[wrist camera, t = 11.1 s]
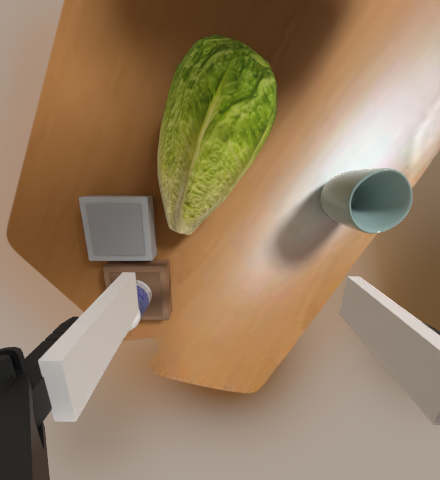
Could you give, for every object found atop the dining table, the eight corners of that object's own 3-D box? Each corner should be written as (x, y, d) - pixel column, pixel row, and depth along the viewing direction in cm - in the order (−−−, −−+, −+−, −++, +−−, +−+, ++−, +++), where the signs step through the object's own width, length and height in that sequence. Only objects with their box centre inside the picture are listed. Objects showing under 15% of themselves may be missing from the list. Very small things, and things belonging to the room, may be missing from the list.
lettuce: (119, 215, 31) (179, 261, 25) (171, 9, 24) (271, 6, 18) (179, 217, 41) (231, 251, 35) (228, 73, 34) (305, 84, 28)
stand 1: (89, 195, 35) (77, 197, 32) (152, 195, 35) (146, 197, 32) (98, 254, 38) (88, 261, 35) (157, 254, 38) (151, 261, 35)
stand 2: (111, 259, 38) (101, 267, 35) (169, 259, 38) (164, 267, 35) (118, 310, 41) (110, 321, 38) (172, 310, 41) (168, 321, 38)
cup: (323, 227, 37) (360, 244, 28) (305, 186, 36) (339, 189, 26) (367, 205, 37) (421, 214, 27) (351, 161, 35) (403, 155, 25)
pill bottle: (133, 272, 35) (107, 302, 27) (158, 293, 37) (141, 328, 28) (113, 294, 36) (82, 329, 28) (138, 313, 37) (115, 353, 29)
